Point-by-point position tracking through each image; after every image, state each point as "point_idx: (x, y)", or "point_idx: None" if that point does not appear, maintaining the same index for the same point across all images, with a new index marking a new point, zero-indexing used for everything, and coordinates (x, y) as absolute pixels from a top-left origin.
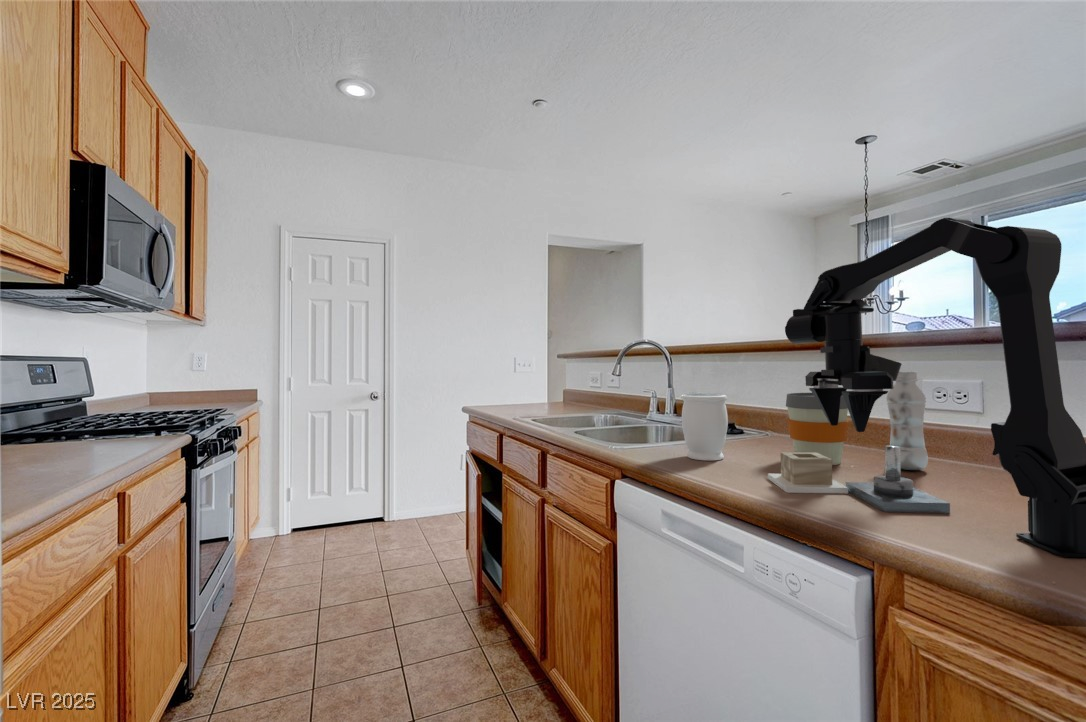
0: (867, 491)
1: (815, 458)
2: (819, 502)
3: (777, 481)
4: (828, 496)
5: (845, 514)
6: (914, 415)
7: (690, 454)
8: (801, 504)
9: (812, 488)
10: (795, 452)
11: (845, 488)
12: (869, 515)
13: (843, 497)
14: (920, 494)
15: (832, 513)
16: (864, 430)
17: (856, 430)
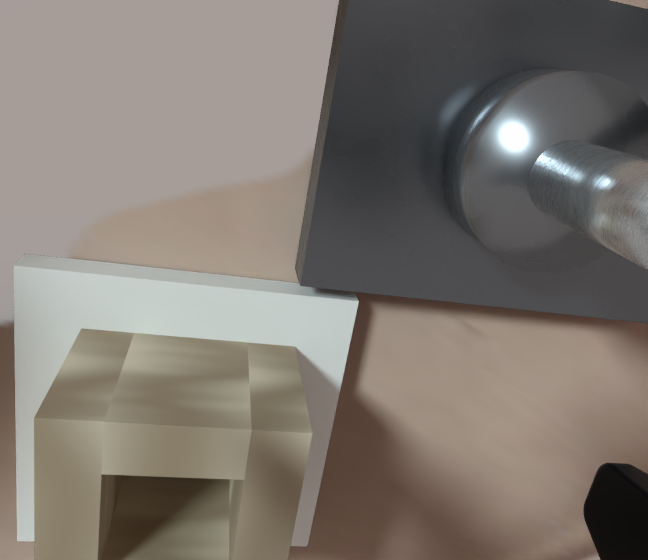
0: (495, 289)
1: (271, 510)
2: (455, 464)
3: None
4: (381, 394)
5: (602, 446)
6: None
7: None
8: (464, 530)
9: (326, 448)
10: (40, 545)
11: (355, 311)
12: (636, 378)
13: (406, 342)
14: (611, 57)
15: (581, 479)
16: (639, 473)
17: (592, 525)
